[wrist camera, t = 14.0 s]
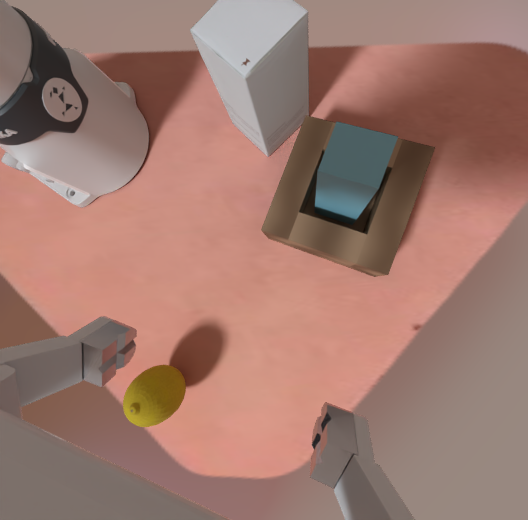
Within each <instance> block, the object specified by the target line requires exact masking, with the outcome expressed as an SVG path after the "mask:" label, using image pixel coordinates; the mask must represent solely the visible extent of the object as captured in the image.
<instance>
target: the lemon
mask: <svg viewBox="0 0 528 520" xmlns="http://www.w3.org/2000/svg"><path fill="white" fill-rule="evenodd" d="M185 391H186V384H185V379H184V377H183V375H182V374H181V372H180V371H179V370H178V369H176V368H175V367H172V366H169V365H159V366H154V367H152V368H150V369H147V370H145V371H144V372H142V373H141V374H140V375H139V376H138V377H136V378H135V379H134V380H133V381H132V383H131V384H130V386H129V387H128V388H127V390H126V393H125V396H124V400H123V409H124V413H125V415H126V417H127V418H128V419H129V421H130V422H132V423H133V424H135V425H137V426H140V427H150V426H153V425H157V424H159V423H161V422H163V421H164V420H166V419H168V418H169V417H170V416H171V415H172V414H173V413H174V412H175V411H176V410H177V409H178V408H179V406H180V405H181V403H182V401H183V399H184V395H185Z"/></svg>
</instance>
